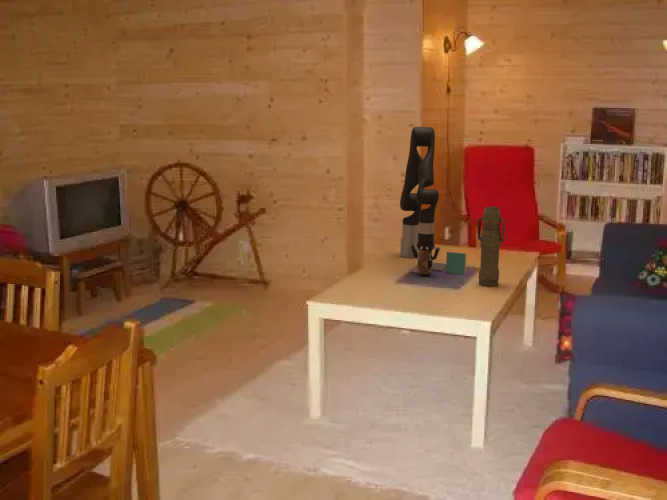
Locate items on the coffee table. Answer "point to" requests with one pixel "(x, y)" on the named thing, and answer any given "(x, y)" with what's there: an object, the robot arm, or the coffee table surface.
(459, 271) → the tile
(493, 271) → the olive canister
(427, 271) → the tall wooden block
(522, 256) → the coffee table surface
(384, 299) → the coffee table surface
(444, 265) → the rest mat
